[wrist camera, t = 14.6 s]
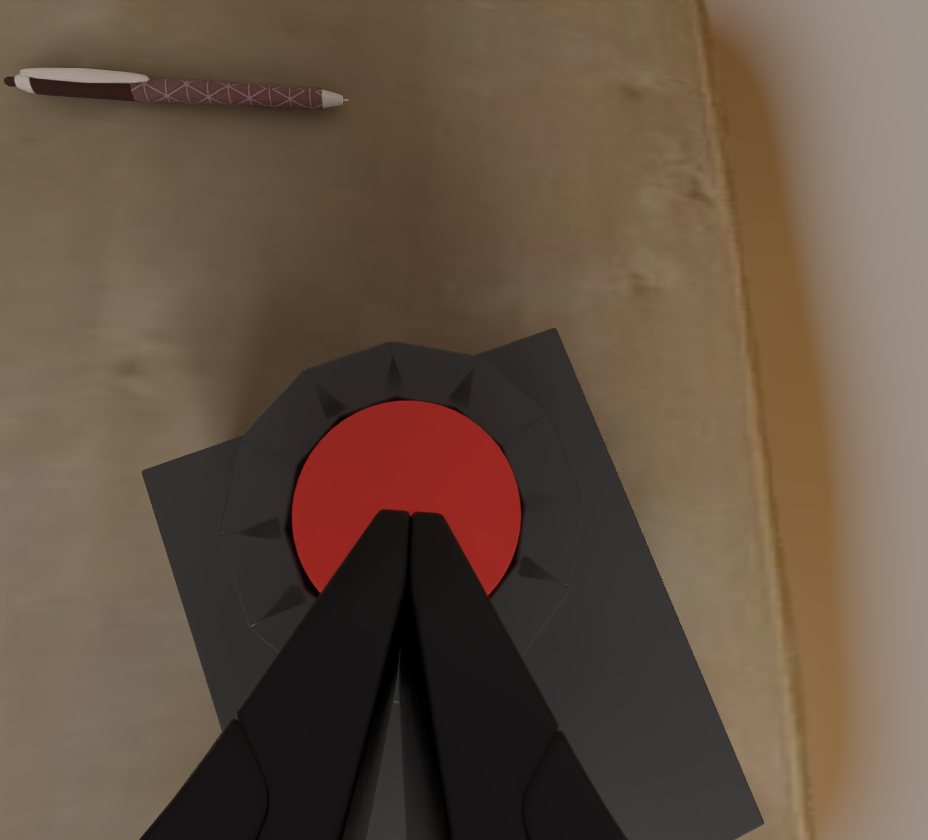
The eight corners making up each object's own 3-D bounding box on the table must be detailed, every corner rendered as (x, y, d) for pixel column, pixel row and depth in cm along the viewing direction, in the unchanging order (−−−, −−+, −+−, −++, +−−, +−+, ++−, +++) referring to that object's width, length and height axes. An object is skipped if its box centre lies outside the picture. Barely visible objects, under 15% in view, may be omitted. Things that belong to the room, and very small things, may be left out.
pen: (12, 101, 21) (-7, 79, 20) (14, 80, 21) (-5, 58, 20) (350, 116, 22) (348, 97, 21) (350, 97, 22) (348, 76, 21)
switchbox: (651, 735, 20) (821, 867, 12) (347, 882, 18) (310, 1149, 10) (505, 375, 21) (569, 280, 13) (215, 478, 20) (95, 437, 12)
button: (533, 572, 13) (555, 577, 11) (345, 651, 12) (337, 670, 10) (463, 391, 13) (473, 370, 11) (278, 457, 12) (259, 444, 11)
